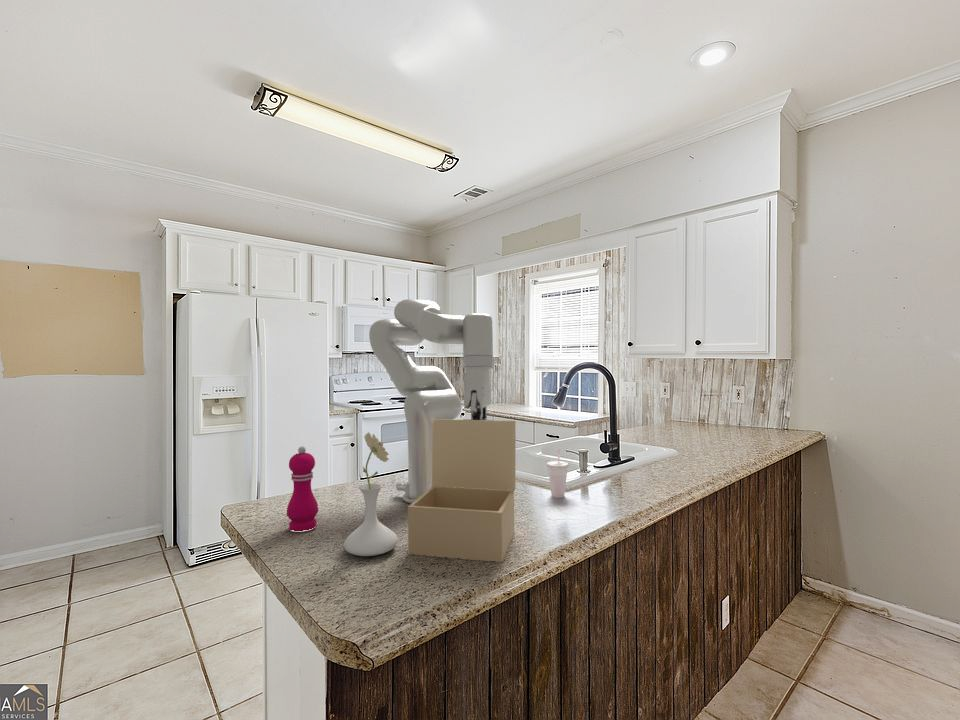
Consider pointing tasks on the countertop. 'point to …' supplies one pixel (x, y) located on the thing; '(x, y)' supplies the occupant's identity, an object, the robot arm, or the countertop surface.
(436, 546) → the carton
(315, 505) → the pepper mill
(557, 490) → the smoothie
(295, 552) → the countertop surface
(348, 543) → the flower in vase
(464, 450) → the carton lid
